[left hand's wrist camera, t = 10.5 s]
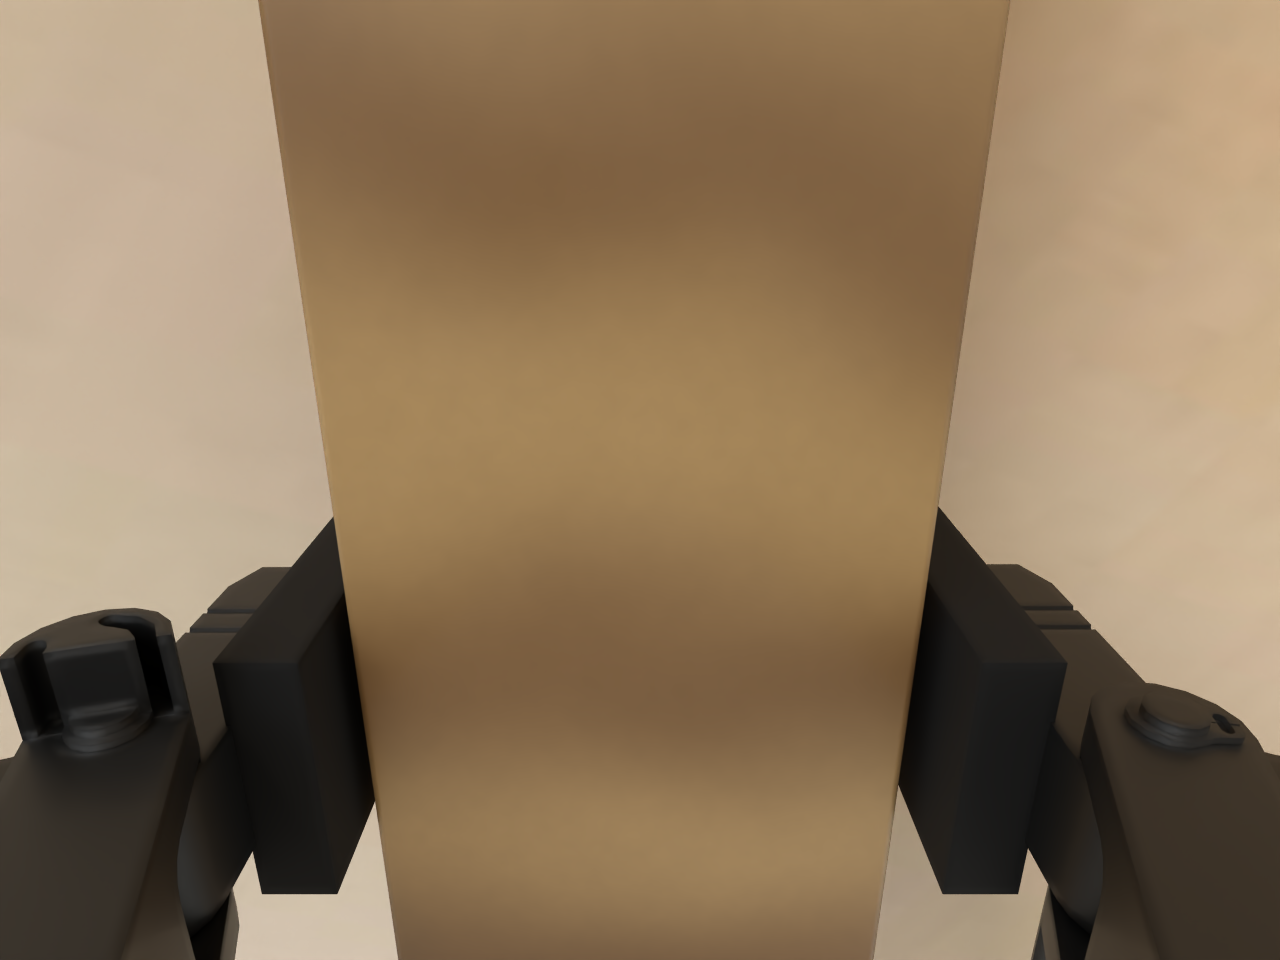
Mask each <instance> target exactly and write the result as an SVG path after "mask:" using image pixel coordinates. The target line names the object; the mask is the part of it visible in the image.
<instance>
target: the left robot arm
mask: <svg viewBox="0 0 1280 960" xmlns="http://www.w3.org/2000/svg"><path fill="white" fill-rule="evenodd" d="M0 672H1V675H2V678H3V681H4V684H5V687H6V690H7V693H8V696H9V700H10V703H11V706H12V709H13V712H14V715H15V718H16V721H17V724H18V727H19V730H20V734H21V737H22V740H23V741H22V743H21V745H20V747H19V749H18V750H17V752H16V754H15V756H14V757H11V758H7V759H2V760H0V960H235V953H236V946H237V939H238V931H239V919H238V912H237V906H236V901H235V897H234V893H233V886H234V884H235V882H236V880H237V879H238V877H239V875H240V873H241V871H242V870H243V868H244V866H245V864H246V862H247V860H248V859H249V857H250V855H251V853H252V851H253V855H254V859H255V864H256V869H257V873H258V878H259V882H260V887H261V892H262V894H338V891H339V889H340V886H341V884H342V881H343V879H344V876H345V874H346V871H347V869H348V867H349V864H350V862H351V859H352V857H353V854H354V852H355V849H356V847H357V844H358V842H359V839H360V837H361V834H362V832H363V830H364V827H365V825H366V822H367V820H368V817H369V815H370V812H371V810H372V807H373V805H374V802H375V796H374V789H373V782H372V776H371V769H370V762H369V755H368V748H367V741H366V735H365V728H364V721H363V714H362V707H361V700H360V694H359V687H358V680H357V673H356V666H355V659H354V652H353V646H352V639H351V632H350V625H349V618H348V611H347V605H346V598H345V591H344V584H343V577H342V570H341V563H340V557H339V550H338V543H337V536H336V529H335V522H334V516H333V518H332V519H331V520H330V521H329V523H328V524H327V525H326V526H325V527H324V529H323V530H322V531H321V532H320V533H319V535H318V536H317V537H316V538H315V539H314V541H313V542H312V543H311V544H310V545H309V547H308V548H307V549H306V550H305V552H304V553H303V554H302V555H301V556H300V558H299V559H298V560H297V561H296V562H295V564H294V565H293V566H292V567H262V568H260V569H259V570H257V571H255V572H253V573H252V574H250V575H248V576H246V577H245V578H243V579H241V580H239V581H237V582H236V583H234V584H232V585H230V586H229V587H228V588H227V589H226V590H225V591H224V592H223V593H222V594H221V595H220V596H219V597H218V598H217V599H216V601H215V602H214V603H213V604H212V605H211V606H210V607H209V608H208V612H207V614H202V616H201V617H200V618H199V619H198V620H197V621H196V622H195V623H194V624H193V625H192V626H191V627H190V633H185V634H184V635H183V636H182V637H181V638H180V639H179V640H178V641H177V642H175V638H174V633H173V629H172V625H171V621H170V620H169V619H167V618H166V617H164V616H163V615H161V614H160V613H159V612H155V611H149V610H144V609H138V608H127V609H108V610H102V611H97V612H92V613H88V614H83V615H78V616H73V617H71V618H68V619H65V620H62V621H60V622H57V623H54V624H51V625H49V626H46V627H43V628H41V629H39V630H37V631H35V632H33V633H32V634H30V635H28V636H26V637H24V638H23V639H21V640H19V641H17V642H16V643H14V644H13V645H12V646H11V647H10V648H9V649H8V650H7V651H6V652H4V653H3V654H2V655H1V656H0ZM898 785H899V787H900V790H901V792H902V795H903V797H904V800H905V802H906V805H907V807H908V810H909V812H910V815H911V817H912V820H913V822H914V824H915V827H916V829H917V832H918V834H919V837H920V839H921V842H922V844H923V847H924V849H925V852H926V854H927V857H928V859H929V862H930V864H931V866H932V869H933V871H934V874H935V876H936V879H937V881H938V884H939V886H940V889H941V891H942V894H1018V892H1019V887H1020V883H1021V878H1022V873H1023V869H1024V864H1025V859H1026V855H1027V850H1028V849H1029V850H1030V852H1031V854H1032V856H1033V858H1034V859H1035V861H1036V863H1037V865H1038V867H1039V868H1040V870H1041V872H1042V874H1043V876H1044V878H1045V879H1046V881H1047V883H1048V888H1047V893H1046V897H1045V901H1044V906H1043V910H1042V914H1041V919H1040V923H1039V927H1038V932H1037V936H1036V940H1035V945H1034V949H1033V953H1032V957H1031V960H1280V756H1278V755H1273V754H1269V753H1265V752H1264V751H1263V749H1262V747H1261V745H1260V743H1259V741H1258V740H1257V739H1256V737H1255V736H1254V735H1253V734H1252V733H1251V732H1250V730H1249V729H1248V728H1247V727H1246V726H1245V725H1244V723H1243V722H1242V721H1240V720H1239V719H1237V718H1236V717H1234V716H1233V715H1231V714H1230V713H1228V712H1227V711H1225V710H1224V709H1222V708H1221V707H1219V706H1218V705H1216V704H1214V703H1212V702H1210V701H1207V700H1205V699H1203V698H1200V697H1198V696H1196V695H1193V694H1191V693H1188V692H1186V691H1182V690H1178V689H1174V688H1170V687H1166V686H1162V685H1158V684H1152V683H1145V682H1144V681H1143V680H1142V678H1141V677H1140V676H1139V675H1138V674H1137V673H1136V672H1135V671H1134V670H1133V669H1132V668H1131V667H1130V666H1129V665H1128V664H1127V663H1126V662H1125V660H1124V659H1123V658H1122V657H1121V656H1120V655H1119V654H1118V653H1117V652H1116V651H1115V650H1114V649H1113V648H1112V647H1111V646H1110V645H1109V643H1108V642H1107V641H1106V640H1105V639H1104V638H1103V637H1102V636H1101V635H1100V634H1099V633H1098V632H1097V631H1096V630H1091V624H1090V623H1089V622H1088V621H1087V620H1086V619H1085V618H1084V617H1083V616H1082V615H1081V614H1080V613H1079V612H1078V611H1077V610H1073V605H1072V604H1071V603H1070V602H1069V601H1068V600H1067V599H1066V598H1065V597H1064V596H1063V595H1062V594H1061V593H1060V591H1059V590H1058V589H1057V588H1056V587H1055V586H1054V585H1053V584H1052V583H1050V582H1048V581H1047V580H1045V579H1043V578H1041V577H1039V576H1038V575H1036V574H1034V573H1032V572H1031V571H1029V570H1027V569H1025V568H1023V567H1022V566H1020V565H1018V564H985V562H984V561H983V560H982V559H981V557H980V556H979V555H978V554H977V553H976V551H975V550H974V549H973V548H972V547H971V545H970V544H969V543H968V542H967V541H966V539H965V538H964V537H963V536H962V535H961V533H960V532H959V531H958V530H957V529H956V527H955V526H954V525H953V524H952V522H951V521H950V520H949V519H948V518H947V516H946V515H945V514H944V513H943V512H942V510H941V509H940V508H939V507H938V510H937V517H936V524H935V531H934V538H933V545H932V552H931V559H930V566H929V573H928V580H927V587H926V594H925V601H924V608H923V615H922V622H921V629H920V636H919V643H918V650H917V657H916V664H915V671H914V678H913V685H912V692H911V699H910V706H909V713H908V720H907V727H906V734H905V741H904V748H903V755H902V762H901V769H900V776H899V783H898Z"/></svg>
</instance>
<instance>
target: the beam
mask: <svg viewBox="0 0 1280 960" xmlns="http://www.w3.org/2000/svg"><path fill="white" fill-rule="evenodd" d="M258 2H259V9H260V16H261V23H262V30H263V37H264V43H265V50H266V57H267V64H268V71H269V78H270V84H271V91H272V98H273V105H274V112H275V119H276V125H277V132H278V139H279V146H280V153H281V160H282V167H283V173H284V180H285V187H286V194H287V201H288V208H289V214H290V221H291V228H292V235H293V242H294V249H295V256H296V262H297V269H298V276H299V283H300V290H301V297H302V303H303V310H304V317H305V324H306V331H307V338H308V344H309V351H310V358H311V365H312V372H313V379H314V386H315V392H316V399H317V406H318V413H319V420H320V427H321V433H322V440H323V447H324V454H325V461H326V468H327V475H328V481H329V488H330V495H331V502H332V509H333V516H334V522H335V529H336V536H337V543H338V550H339V557H340V563H341V570H342V577H343V584H344V591H345V598H346V605H347V611H348V618H349V625H350V632H351V639H352V646H353V652H354V659H355V666H356V673H357V680H358V687H359V694H360V700H361V707H362V714H363V721H364V728H365V735H366V741H367V748H368V755H369V762H370V769H371V776H372V782H373V789H374V796H375V803H376V810H377V817H378V824H379V830H380V837H381V844H382V851H383V858H384V865H385V871H386V878H387V885H388V892H389V899H390V906H391V912H392V919H393V926H394V933H395V940H396V947H397V954H398V960H873V958H874V951H875V944H876V937H877V930H878V923H879V916H880V909H881V902H882V895H883V888H884V881H885V874H886V867H887V860H888V853H889V846H890V839H891V832H892V825H893V818H894V811H895V804H896V797H897V790H898V783H899V776H900V769H901V762H902V755H903V748H904V741H905V734H906V727H907V720H908V713H909V706H910V699H911V692H912V685H913V678H914V671H915V664H916V657H917V650H918V643H919V636H920V629H921V622H922V615H923V608H924V601H925V594H926V587H927V580H928V573H929V566H930V559H931V552H932V545H933V538H934V531H935V524H936V517H937V510H938V503H939V496H940V489H941V482H942V475H943V468H944V461H945V454H946V447H947V440H948V433H949V426H950V419H951V412H952V405H953V398H954V391H955V384H956V377H957V370H958V363H959V356H960V349H961V342H962V335H963V328H964V321H965V314H966V307H967V300H968V293H969V286H970V279H971V272H972V265H973V258H974V251H975V244H976V237H977V230H978V223H979V216H980V209H981V202H982V195H983V188H984V181H985V174H986V167H987V160H988V153H989V146H990V139H991V132H992V125H993V118H994V111H995V104H996V97H997V90H998V83H999V76H1000V69H1001V62H1002V55H1003V48H1004V41H1005V34H1006V27H1007V20H1008V13H1009V6H1010V0H258Z"/></svg>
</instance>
